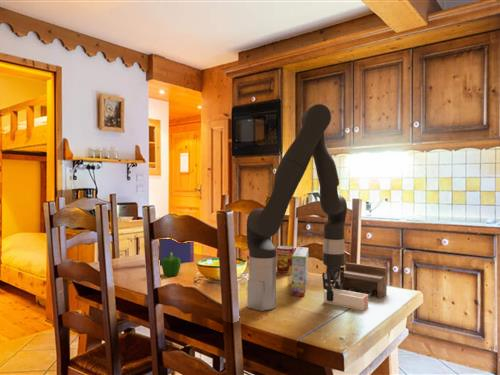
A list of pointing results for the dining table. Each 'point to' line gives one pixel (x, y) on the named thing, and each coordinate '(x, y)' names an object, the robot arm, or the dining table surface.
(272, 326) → the dining table surface
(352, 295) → the tray shell
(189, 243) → the cereal box
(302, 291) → the snack box
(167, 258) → the bell pepper
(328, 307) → the dining table surface
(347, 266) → the cubby
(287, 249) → the canned food
